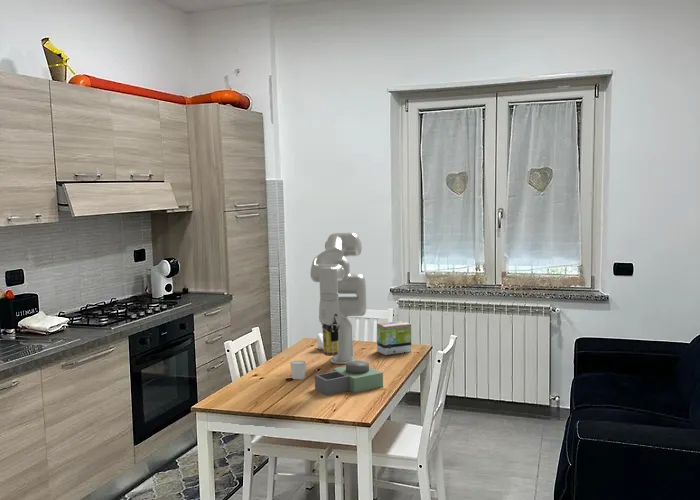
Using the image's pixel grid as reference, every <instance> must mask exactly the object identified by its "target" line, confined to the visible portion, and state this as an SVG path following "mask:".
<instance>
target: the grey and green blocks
mask: <svg viewBox="0 0 700 500" xmlns="http://www.w3.org/2000/svg"><path fill="white" fill-rule="evenodd" d="M383 387H384V372H382V371H381V370H378V369H376V368H372V367H370V363H369V362H368V361H366V360H356V361H350V362H347V363H346V364H345V366H339V367H335V368H332V371H328V372H324V373H317V374H315V375H314V388H315V390H316V391H319V392H320V393H322V394H323V393H324V395H325V396H330V395H333V394H339V393H344V392H348V391H351V392H352V393H354V394H355V393H359V392H364V391H369V390H370V391H371V390H373V389H379V388H383Z"/></svg>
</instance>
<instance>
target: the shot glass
mask: <svg viewBox="0 0 700 500" xmlns="http://www.w3.org/2000/svg"><path fill="white" fill-rule="evenodd" d="M289 364H290V369H291V370H290V371H291V378H292V379H293V380H295V379H300V380H303V378H304V379H305V378H306V367H307V366H306V365H307V362H306V361H305V360H295V361H291V362H290V363H289Z"/></svg>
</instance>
